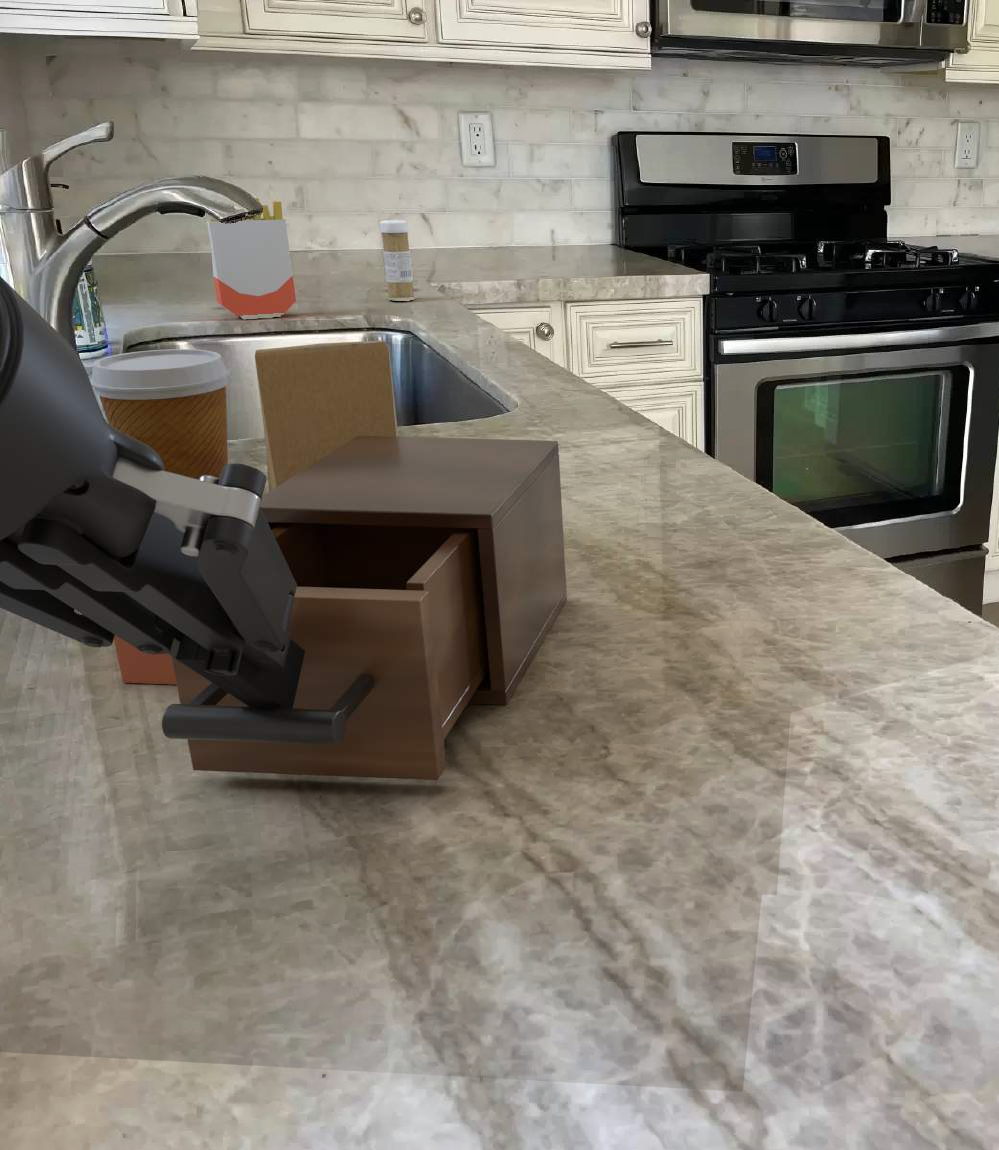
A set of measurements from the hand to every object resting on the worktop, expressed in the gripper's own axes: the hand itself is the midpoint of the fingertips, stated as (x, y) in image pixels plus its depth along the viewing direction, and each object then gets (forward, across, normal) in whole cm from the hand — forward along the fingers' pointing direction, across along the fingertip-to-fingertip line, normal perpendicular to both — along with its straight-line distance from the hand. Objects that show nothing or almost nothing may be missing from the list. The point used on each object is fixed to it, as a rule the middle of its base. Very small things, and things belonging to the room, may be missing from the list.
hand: (280, 680), depth 48 cm
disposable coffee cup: (+34, -28, +24) cm, 50 cm away
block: (+15, -12, +6) cm, 21 cm away
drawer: (+9, 0, 0) cm, 9 cm away
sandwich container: (+32, -15, +22) cm, 42 cm away
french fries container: (+102, -68, +92) cm, 153 cm away
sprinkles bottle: (+117, -53, +107) cm, 167 cm away
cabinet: (+18, 0, +8) cm, 20 cm away
